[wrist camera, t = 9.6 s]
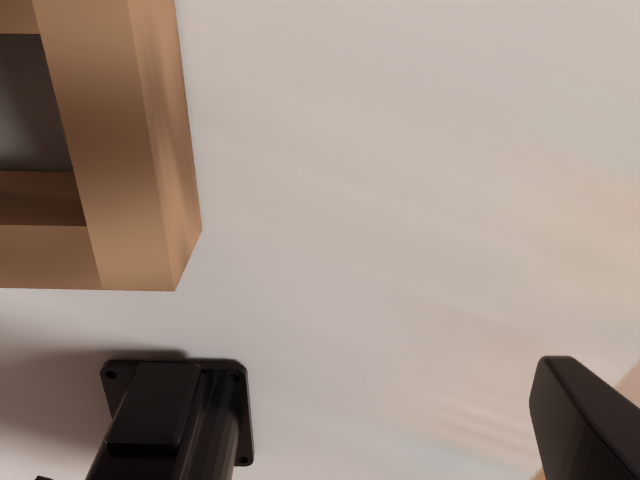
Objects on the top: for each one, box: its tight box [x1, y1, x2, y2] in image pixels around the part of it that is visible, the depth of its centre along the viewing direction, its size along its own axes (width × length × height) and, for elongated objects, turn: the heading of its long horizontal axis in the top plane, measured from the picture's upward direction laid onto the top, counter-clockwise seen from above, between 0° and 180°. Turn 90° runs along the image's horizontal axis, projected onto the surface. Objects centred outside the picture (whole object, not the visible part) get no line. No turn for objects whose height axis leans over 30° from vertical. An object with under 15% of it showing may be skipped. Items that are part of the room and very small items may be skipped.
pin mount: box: [0, 0, 202, 291], centre depth 16 cm, size 10×10×4 cm
